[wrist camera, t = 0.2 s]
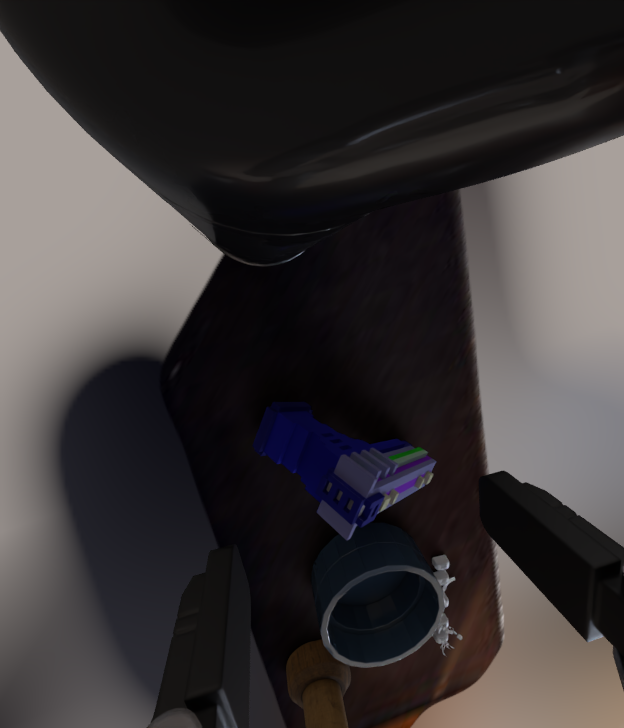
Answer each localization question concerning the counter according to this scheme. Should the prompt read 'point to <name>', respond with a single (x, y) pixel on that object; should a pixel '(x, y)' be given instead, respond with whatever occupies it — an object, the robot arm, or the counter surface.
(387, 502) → the toy gun
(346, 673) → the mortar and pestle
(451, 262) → the counter surface
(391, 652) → the blue bowl
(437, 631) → the figurines set
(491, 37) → the robot arm
